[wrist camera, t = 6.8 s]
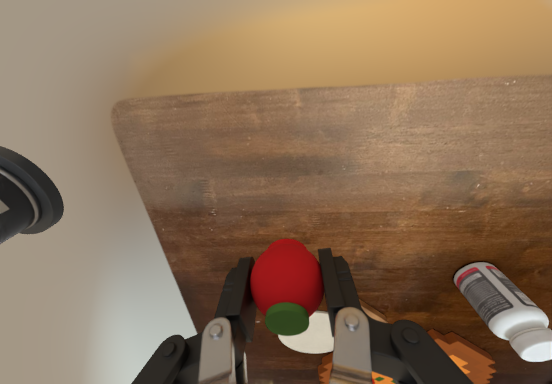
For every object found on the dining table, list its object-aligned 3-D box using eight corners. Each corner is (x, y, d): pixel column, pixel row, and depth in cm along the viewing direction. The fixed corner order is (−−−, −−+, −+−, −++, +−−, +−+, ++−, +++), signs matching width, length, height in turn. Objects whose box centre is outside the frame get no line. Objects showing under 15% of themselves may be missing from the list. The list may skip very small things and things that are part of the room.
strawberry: (290, 284, 15) (291, 356, 11) (242, 256, 14) (226, 325, 10) (333, 252, 13) (351, 322, 10) (282, 217, 12) (280, 281, 9)
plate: (314, 358, 44) (314, 360, 44) (263, 332, 41) (263, 334, 40) (365, 332, 39) (366, 334, 39) (312, 300, 35) (312, 302, 35)
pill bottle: (452, 290, 33) (511, 368, 24) (451, 266, 30) (515, 342, 22) (494, 282, 31) (571, 361, 23) (496, 256, 29) (582, 334, 20)
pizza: (409, 306, 35) (419, 326, 32) (520, 372, 43) (536, 392, 40) (289, 376, 48) (290, 394, 46) (390, 416, 56) (395, 433, 53)
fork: (388, 313, 36) (391, 321, 35) (374, 321, 37) (376, 328, 36) (323, 270, 32) (324, 277, 31) (309, 280, 33) (310, 287, 32)
